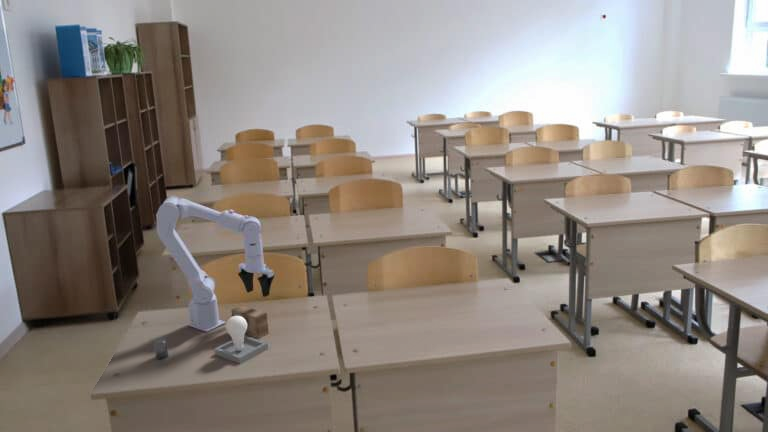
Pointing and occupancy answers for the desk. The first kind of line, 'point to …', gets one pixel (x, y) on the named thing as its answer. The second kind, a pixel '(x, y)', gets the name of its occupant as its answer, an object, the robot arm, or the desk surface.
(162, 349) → the fuse
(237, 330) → the lightbulb
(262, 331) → the lamp housing
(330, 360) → the desk surface
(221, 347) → the tray
